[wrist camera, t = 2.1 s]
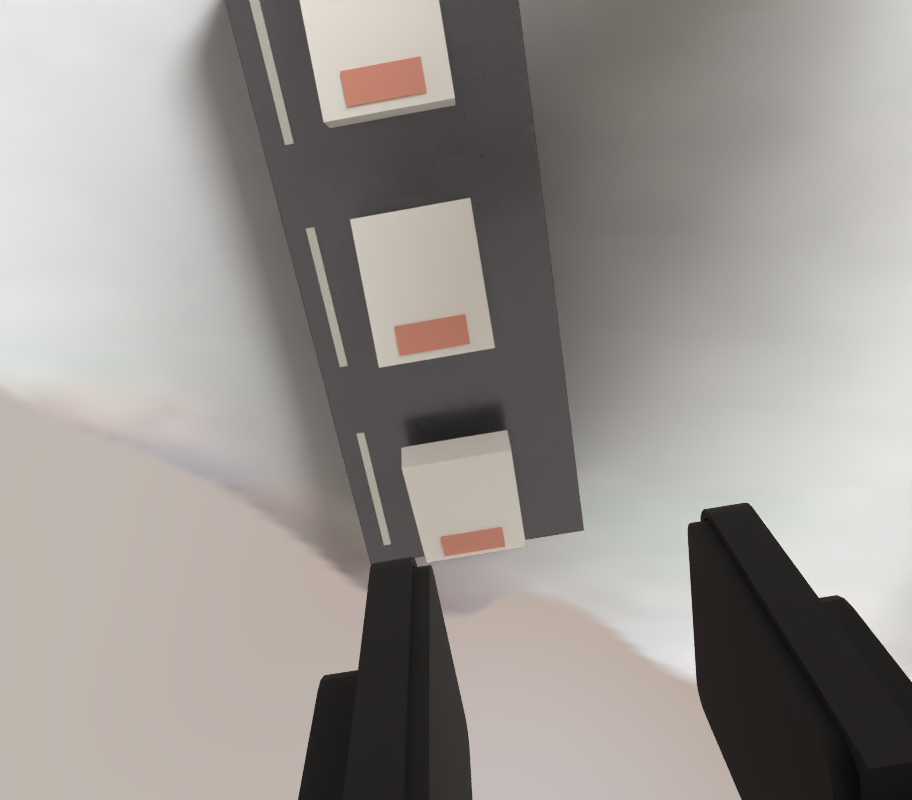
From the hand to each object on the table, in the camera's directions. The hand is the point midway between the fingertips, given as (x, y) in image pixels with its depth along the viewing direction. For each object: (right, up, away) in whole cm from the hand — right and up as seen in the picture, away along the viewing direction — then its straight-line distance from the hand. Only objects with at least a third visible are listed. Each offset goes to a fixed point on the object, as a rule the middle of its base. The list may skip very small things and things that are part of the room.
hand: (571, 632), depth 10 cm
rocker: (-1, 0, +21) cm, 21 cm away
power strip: (-3, +12, +20) cm, 23 cm away
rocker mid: (-3, +7, +18) cm, 19 cm away
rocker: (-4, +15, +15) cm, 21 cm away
